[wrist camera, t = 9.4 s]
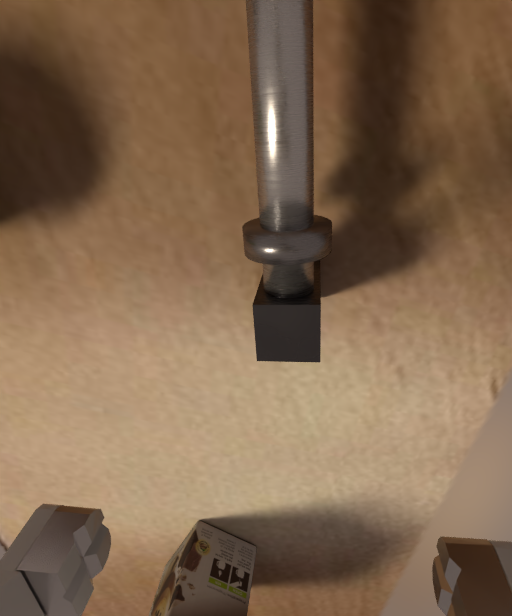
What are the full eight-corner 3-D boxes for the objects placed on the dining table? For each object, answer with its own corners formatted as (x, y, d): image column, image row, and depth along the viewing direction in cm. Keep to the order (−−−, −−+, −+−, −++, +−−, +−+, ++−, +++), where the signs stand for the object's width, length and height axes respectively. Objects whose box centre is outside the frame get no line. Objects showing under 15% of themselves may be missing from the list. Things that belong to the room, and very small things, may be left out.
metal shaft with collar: (235, -125, 16) (188, -255, 10) (334, -142, 16) (344, -290, 10) (263, 301, 25) (246, 361, 19) (327, 301, 24) (331, 363, 19)
